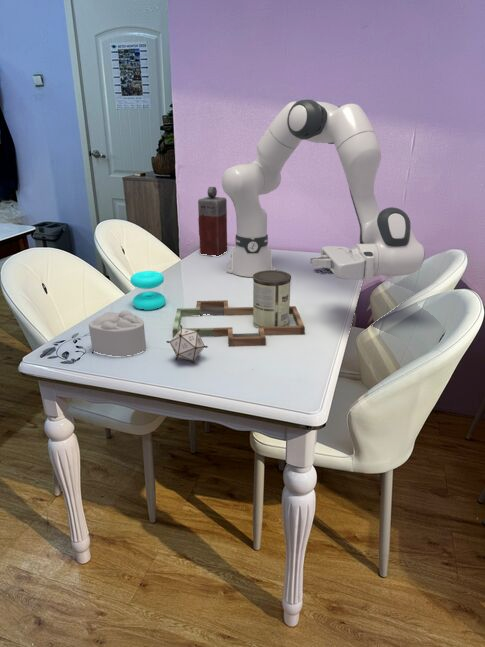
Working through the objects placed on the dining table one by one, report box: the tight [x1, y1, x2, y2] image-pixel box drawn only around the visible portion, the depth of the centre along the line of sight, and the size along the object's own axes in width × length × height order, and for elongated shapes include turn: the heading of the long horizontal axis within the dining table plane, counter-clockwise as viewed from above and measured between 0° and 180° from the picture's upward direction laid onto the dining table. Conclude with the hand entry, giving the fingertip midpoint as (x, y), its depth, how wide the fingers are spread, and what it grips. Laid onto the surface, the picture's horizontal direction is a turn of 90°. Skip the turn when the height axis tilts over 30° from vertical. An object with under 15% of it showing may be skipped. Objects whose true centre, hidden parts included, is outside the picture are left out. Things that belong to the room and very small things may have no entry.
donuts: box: [129, 270, 167, 311], centre depth 138 cm, size 10×10×10 cm
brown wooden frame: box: [172, 299, 306, 347], centre depth 126 cm, size 27×35×2 cm
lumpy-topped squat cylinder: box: [88, 309, 147, 356], centre depth 112 cm, size 10×13×9 cm
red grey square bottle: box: [197, 186, 228, 256], centre depth 191 cm, size 9×11×28 cm
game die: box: [165, 324, 209, 365], centre depth 106 cm, size 9×8×10 cm
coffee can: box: [252, 269, 292, 329], centre depth 124 cm, size 10×10×14 cm
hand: (311, 261), depth 120 cm, fingers closed
